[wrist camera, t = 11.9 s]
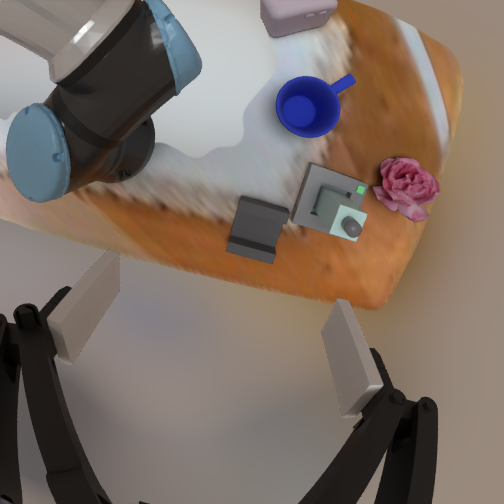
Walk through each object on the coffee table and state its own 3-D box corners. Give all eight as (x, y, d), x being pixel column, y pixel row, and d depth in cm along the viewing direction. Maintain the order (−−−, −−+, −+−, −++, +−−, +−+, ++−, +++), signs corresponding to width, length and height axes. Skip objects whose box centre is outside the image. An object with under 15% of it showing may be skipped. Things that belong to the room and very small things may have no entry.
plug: (313, 207, 46) (333, 240, 33) (321, 185, 44) (345, 209, 31) (334, 214, 46) (361, 249, 33) (342, 193, 45) (374, 220, 31)
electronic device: (272, 41, 35) (275, 19, 26) (260, 20, 33) (260, -5, 24) (328, 27, 33) (343, 5, 24) (316, 6, 31) (328, -19, 22)
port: (290, 217, 47) (292, 223, 44) (309, 162, 43) (312, 164, 40) (343, 234, 48) (347, 240, 45) (363, 182, 44) (369, 185, 41)
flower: (366, 159, 46) (401, 134, 36) (406, 180, 47) (441, 162, 38) (361, 216, 43) (400, 198, 34) (403, 235, 45) (444, 223, 35)
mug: (351, 106, 39) (374, 101, 30) (293, 146, 42) (303, 150, 33) (321, 66, 36) (336, 51, 27) (261, 106, 40) (262, 99, 31)
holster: (228, 243, 49) (225, 251, 46) (241, 194, 46) (239, 199, 43) (271, 255, 50) (272, 264, 47) (287, 208, 47) (289, 214, 43)
